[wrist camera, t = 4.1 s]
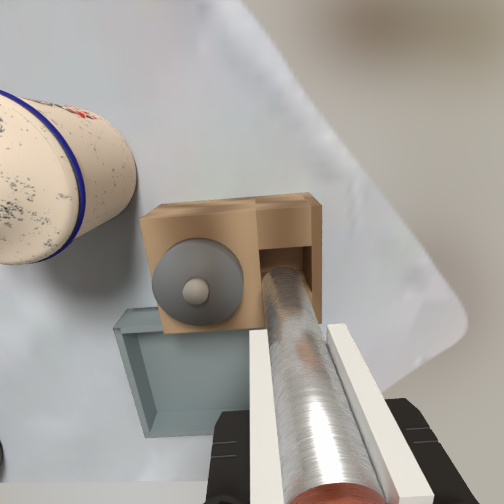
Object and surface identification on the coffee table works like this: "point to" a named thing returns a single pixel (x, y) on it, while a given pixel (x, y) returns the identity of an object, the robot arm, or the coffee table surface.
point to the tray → (182, 374)
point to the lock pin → (311, 405)
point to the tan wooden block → (229, 258)
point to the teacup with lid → (57, 177)
